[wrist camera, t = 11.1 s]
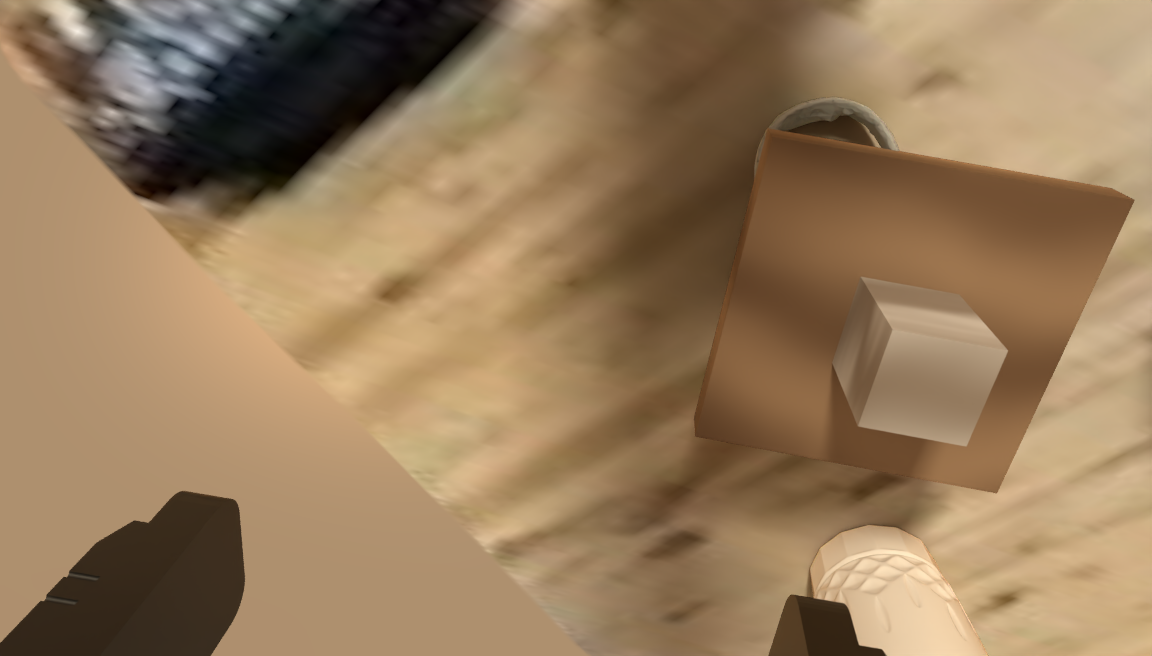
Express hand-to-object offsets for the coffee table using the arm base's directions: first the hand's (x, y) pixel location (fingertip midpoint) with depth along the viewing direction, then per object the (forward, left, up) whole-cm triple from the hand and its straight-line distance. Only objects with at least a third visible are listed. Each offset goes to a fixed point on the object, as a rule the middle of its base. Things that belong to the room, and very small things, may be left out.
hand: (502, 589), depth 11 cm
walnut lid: (+2, +11, -20) cm, 23 cm away
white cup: (+20, +18, -28) cm, 39 cm away
